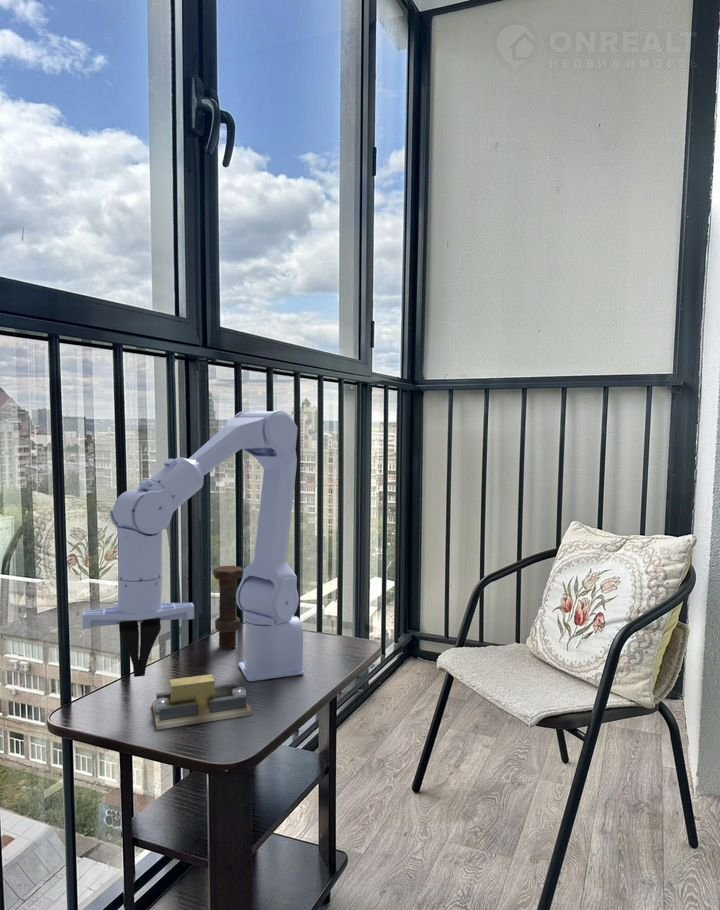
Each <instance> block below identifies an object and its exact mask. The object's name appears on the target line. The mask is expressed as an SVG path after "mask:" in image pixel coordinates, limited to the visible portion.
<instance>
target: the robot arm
mask: <svg viewBox="0 0 720 910" xmlns="http://www.w3.org/2000/svg"><path fill="white" fill-rule="evenodd" d="M298 428H299V427H298V426H297V424H296V423H295V421H294V420H293V418H292V417H291V415H290V414H288V412H286V411H284V410H273V411H248V410H247V411H246V410H243V411H239V412H237V413H236V414H235V415H234V416H233V417H231V418H229V419H228V420H227V421H226V423H225V425H224V426H223V427H222V428H221V429H220V430H218V432H217V433H216V434H215V435H213V436H212V437H211V438H210V439H209V440H208V441H206V443H205V444H203V445H202V446H201V447H200V448H199V449H198V450H196V451H195V452H194V453H192V455H191V456H190V457H189V458H185V457H176V458H167V460H166V461H164V462H163V465H164V467H163V468H162V469H160V470H159V471H157V473H155V474H154V475H153V476H152V477H150V478H148V479H143V480H141V481H140V482H139V486H138V488H137V489H132V490H130V489H129V490H126V491H124V492H122V493H121V494H120V495H119V496H118V497H117V499H116V500H115V501H114V504H113V508H112V510H111V509H110V510H109V518H110V520H111V523H112V525H114V526H115V528H116V530H117V540H118V554H117V555H118V557H117V558H118V562H117V563H118V566H117V567H118V568H117V572H118V573H117V574H118V575H117V579H118V581H117V587H118V588H117V606H110V607H104V608H99V609H93V610H83V612H82V629H83V630H86V629H87V630H89V629H92V627H105V626H116V625H118V628H119V634H120V636H121V638H122V640H123V642H124V645H125V646H126V648H127V651H128V654H129V655H130V659H131V663H132V669H133V671H132V672H133V678H138V677H144V676H145V677H146V669H147V664H148V660H149V657H150V655H151V652H152V648H153V646H154V644H155V642H156V640H157V638H158V636H159V635H160V631H161V628H162V627H161V626H162V625H161V621H172V620H174V621H175V620H183V619H184V620H194V619H195V605H194V603H193V602H162V590H163V589H162V583H163V582H162V580H163V579H162V578H163V577H162V576H163V575H162V574H163V573H162V572H163V559H162V557H163V530H165V529H166V530H167V528H168V527H169V525H170V523H171V520H172V517H173V515H174V512H175V511H177V509H178V508H179V507H180V506H182V505H183V504H184V503H186V502H187V501H188V500H189V499H190V498H191V497H193V496H194V495H195V494H196V493H198V491H200V490H201V489H202V488H203V486H204V476H205V475H207V474H209V472H211V471H212V470H214V469H215V468H216V467H219V465H220V464H223V462H225V461H227V459H229V458H231V457H232V456H233V455H234V454H236V453H237V452H239V451H240V450H243V451H245V452H246V453H247V454H249V455H250V456H251V457H253V458H255V459H256V461H257V462H258V463H259V464H260V465H261V467H262V468H263V474H262V475H263V477H262V485H261V491H260V492H261V494H260V503H259V504H260V505H259V512H258V520H257V521H258V522H257V529H256V530H257V532H256V539H255V550H254V558H253V560H252V561H251V562H250V564H248V565H247V566H246V567H244V568H243V577H242V578H241V581H240V583H239V584H238V586H237V591H236V592H237V593H236V601H237V602H236V606H237V607H238V608H239V610H241V611H242V618H244V619H245V622H244V623H245V632H244V633H245V635H244V661H240V662H239V663H238V667H239V669H241V672H242V674H243V676H244V677H245V679H246V680H247V682H256V681H257V682H258V681H263V680H270V679H278V678H284V677H285V678H286V677H292V676H293V677H294V676H299V675H304V674H305V671H304V670H303V659H304V633H303V632H304V631H303V625H302V622H301V619H300V618H299V617H298V616H297V615H295V613H296V612H297V610H298V606H299V599H300V597H299V592H298V587H297V584H298V583H297V582H298V576H297V575H296V573H295V572H294V571H293V570H292V568H291V567H290V565H289V564H288V563H287V559H288V548H289V543H290V542H289V540H290V531H291V523H292V521H291V520H292V512H293V504H294V495H295V494H294V493H295V491H294V490H295V485H296V483H295V482H296V473H297V466H298V465H297V463H298V459H297V458H298V457H297V451H296V447H297V437H298ZM294 615H295V616H294ZM139 629H140V630H139Z"/></svg>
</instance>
